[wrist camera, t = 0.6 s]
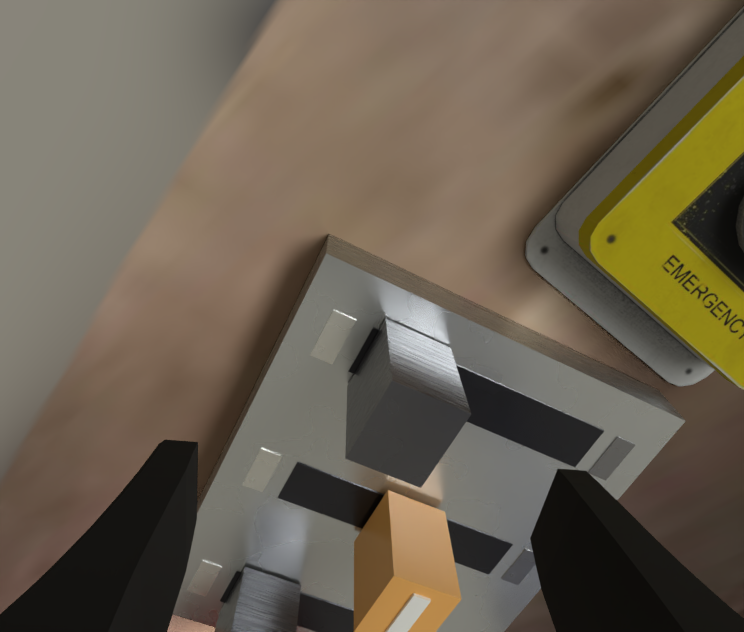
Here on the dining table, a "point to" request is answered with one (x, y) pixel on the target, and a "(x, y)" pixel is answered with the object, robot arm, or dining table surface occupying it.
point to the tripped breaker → (404, 568)
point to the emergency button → (664, 225)
